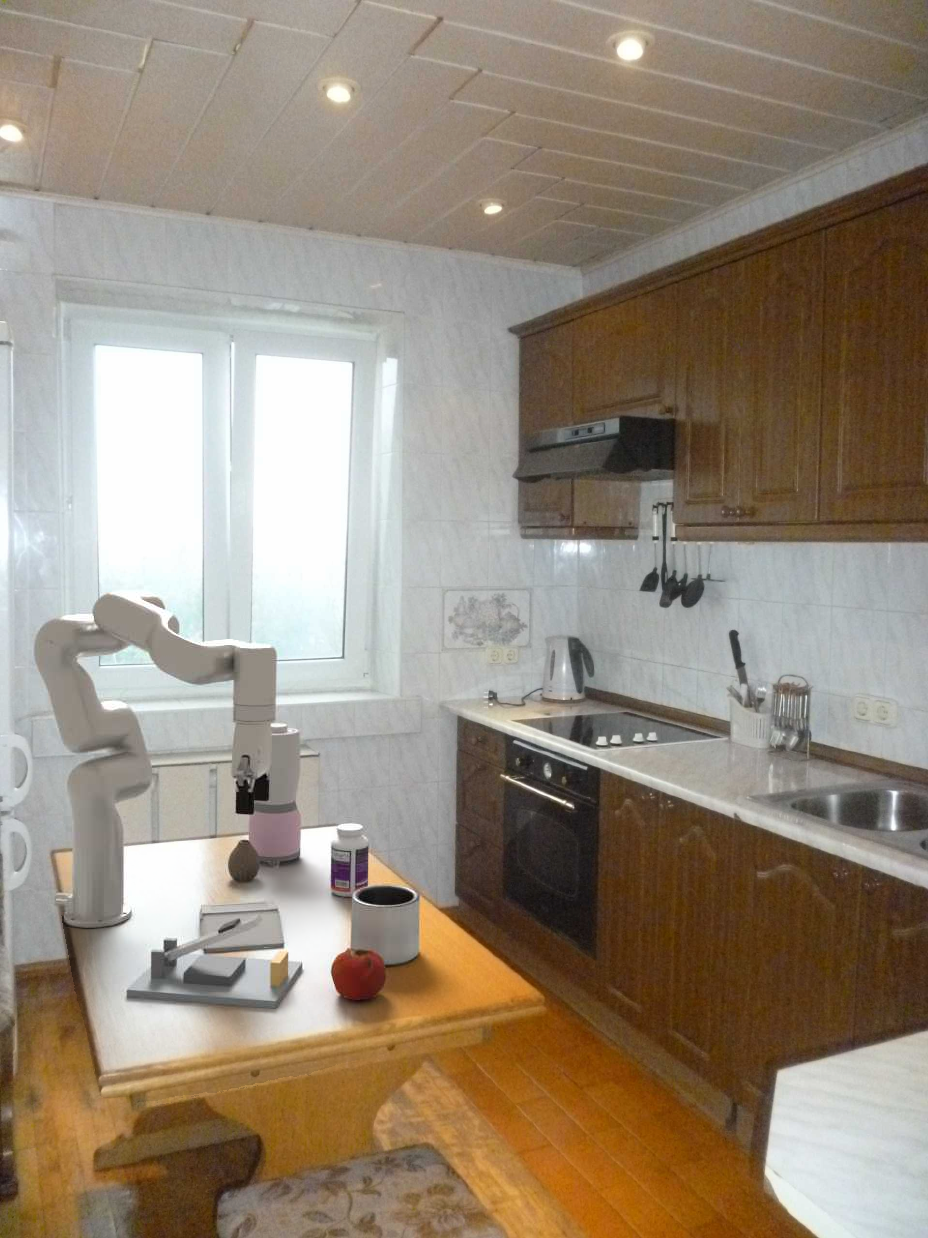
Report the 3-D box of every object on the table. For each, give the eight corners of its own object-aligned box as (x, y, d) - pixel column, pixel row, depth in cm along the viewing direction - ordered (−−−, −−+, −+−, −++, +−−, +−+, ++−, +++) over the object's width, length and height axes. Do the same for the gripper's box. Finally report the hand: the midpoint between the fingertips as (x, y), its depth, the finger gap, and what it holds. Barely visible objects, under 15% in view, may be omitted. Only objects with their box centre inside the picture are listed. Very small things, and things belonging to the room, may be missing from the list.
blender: (280, 870, 237) (282, 732, 234) (236, 862, 242) (238, 726, 239) (317, 852, 251) (320, 722, 249) (275, 845, 256) (277, 717, 254)
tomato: (334, 983, 177) (335, 937, 176) (388, 985, 176) (389, 939, 176) (326, 1007, 167) (326, 959, 167) (382, 1009, 167) (383, 961, 167)
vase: (266, 879, 231) (266, 840, 230) (244, 887, 225) (244, 847, 224) (243, 873, 234) (244, 834, 234) (221, 880, 228) (221, 841, 228)
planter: (402, 973, 182) (403, 911, 181) (338, 961, 186) (339, 900, 185) (429, 948, 193) (430, 889, 193) (368, 937, 198) (369, 880, 197)
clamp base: (126, 996, 169) (126, 962, 169) (165, 958, 185) (166, 927, 185) (275, 1008, 166) (276, 973, 166) (302, 968, 182) (302, 936, 182)
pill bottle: (363, 885, 228) (364, 820, 227) (371, 897, 220) (373, 830, 219) (326, 888, 226) (328, 823, 225) (334, 900, 218) (335, 832, 217)
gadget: (285, 950, 192) (285, 930, 192) (201, 956, 188) (201, 936, 188) (274, 908, 214) (274, 890, 214) (199, 913, 210) (199, 895, 210)
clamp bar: (157, 967, 175) (153, 956, 175) (166, 958, 178) (162, 948, 178) (256, 927, 172) (252, 917, 172) (263, 920, 176) (259, 910, 176)
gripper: (247, 705, 195) (246, 794, 196) (218, 720, 177) (217, 818, 179) (286, 706, 194) (285, 796, 195) (261, 722, 177) (259, 820, 178)
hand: (252, 807), depth 187 cm, fingers open, 9 cm apart
